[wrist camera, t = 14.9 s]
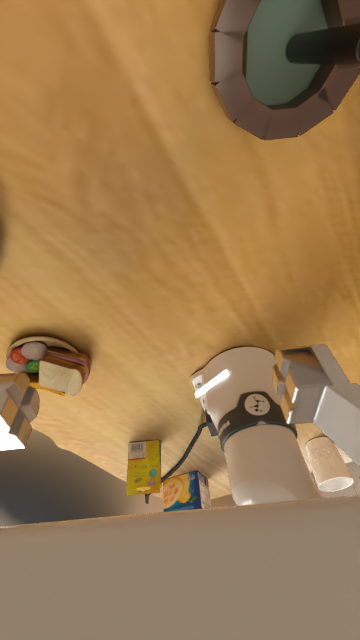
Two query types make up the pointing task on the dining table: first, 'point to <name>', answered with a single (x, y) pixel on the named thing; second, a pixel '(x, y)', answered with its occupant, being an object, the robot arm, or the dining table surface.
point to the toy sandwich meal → (49, 364)
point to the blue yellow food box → (186, 492)
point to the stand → (293, 48)
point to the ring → (233, 91)
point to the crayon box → (144, 467)
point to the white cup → (328, 465)
